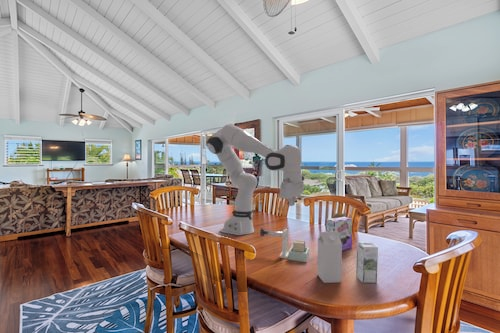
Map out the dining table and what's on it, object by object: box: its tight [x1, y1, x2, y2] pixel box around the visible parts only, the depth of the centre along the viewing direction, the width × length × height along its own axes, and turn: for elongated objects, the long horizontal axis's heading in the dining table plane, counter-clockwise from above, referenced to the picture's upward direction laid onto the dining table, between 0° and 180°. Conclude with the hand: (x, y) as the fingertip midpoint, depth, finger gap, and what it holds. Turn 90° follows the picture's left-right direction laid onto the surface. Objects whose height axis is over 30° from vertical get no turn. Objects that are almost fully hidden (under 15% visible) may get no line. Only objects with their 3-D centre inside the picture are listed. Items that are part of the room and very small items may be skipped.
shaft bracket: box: [278, 228, 310, 263], centre depth 125 cm, size 13×9×13 cm, turn 70°
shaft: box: [259, 227, 289, 237], centre depth 128 cm, size 13×4×4 cm, turn 70°
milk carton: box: [317, 231, 343, 284], centre depth 102 cm, size 7×7×19 cm
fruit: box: [331, 212, 347, 219], centre depth 158 cm, size 11×11×15 cm
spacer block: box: [292, 239, 306, 253], centre depth 124 cm, size 5×5×8 cm
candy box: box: [325, 216, 353, 251], centre depth 137 cm, size 14×6×16 cm, turn 117°
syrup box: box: [355, 241, 379, 284], centre depth 101 cm, size 6×6×14 cm
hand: (291, 205), depth 127 cm, fingers closed
